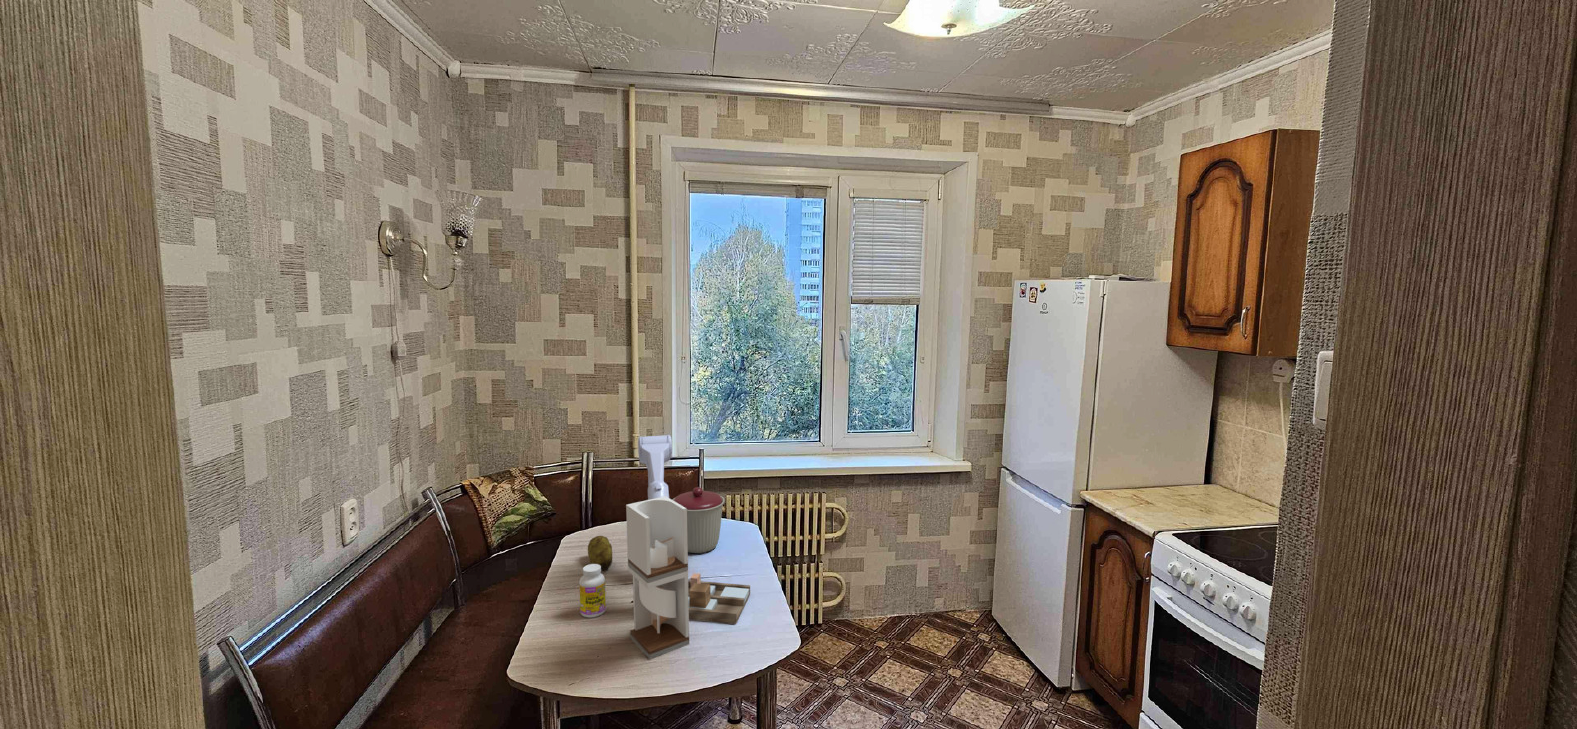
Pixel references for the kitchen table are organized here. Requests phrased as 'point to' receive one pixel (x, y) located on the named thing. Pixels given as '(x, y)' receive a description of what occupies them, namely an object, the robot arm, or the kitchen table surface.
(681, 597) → the white tiered stand
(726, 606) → the lane board
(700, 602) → the walnut block
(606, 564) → the potato
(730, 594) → the broken strip
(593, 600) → the supplement bottle
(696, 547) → the canister
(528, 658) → the kitchen table surface
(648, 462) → the robot arm
